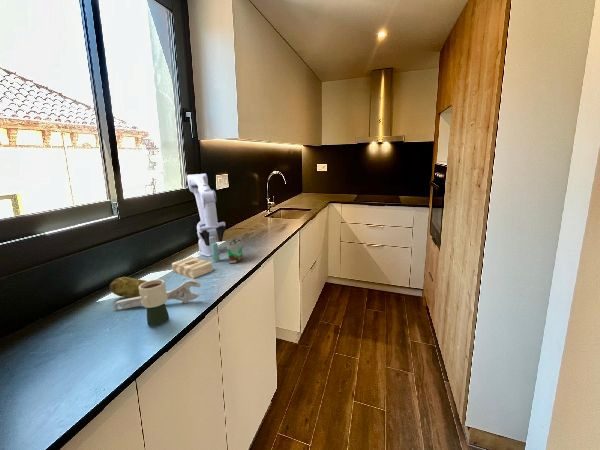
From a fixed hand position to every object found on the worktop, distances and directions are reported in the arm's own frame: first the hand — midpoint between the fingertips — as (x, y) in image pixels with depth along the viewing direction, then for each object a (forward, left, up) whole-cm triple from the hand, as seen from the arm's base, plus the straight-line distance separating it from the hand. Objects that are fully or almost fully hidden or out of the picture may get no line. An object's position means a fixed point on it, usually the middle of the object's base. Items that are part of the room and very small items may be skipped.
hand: (214, 243), depth 140 cm
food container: (+9, +6, -10) cm, 15 cm away
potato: (+3, -41, -10) cm, 42 cm away
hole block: (+1, -14, -9) cm, 17 cm away
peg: (0, 0, -9) cm, 9 cm away
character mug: (+30, -45, -10) cm, 55 cm away
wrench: (+19, -39, -10) cm, 44 cm away
